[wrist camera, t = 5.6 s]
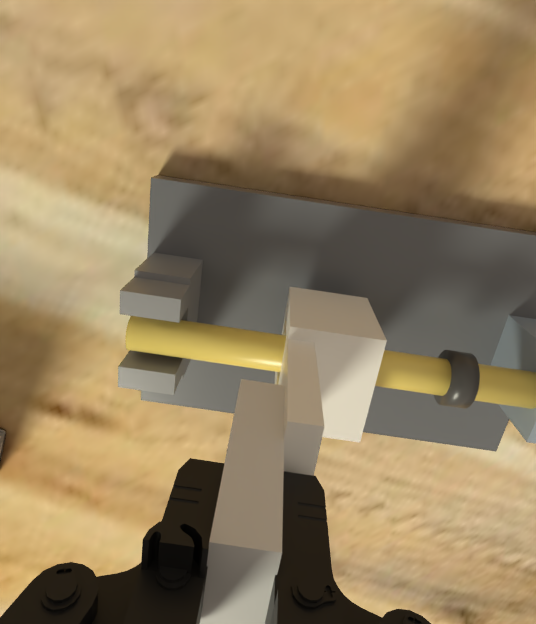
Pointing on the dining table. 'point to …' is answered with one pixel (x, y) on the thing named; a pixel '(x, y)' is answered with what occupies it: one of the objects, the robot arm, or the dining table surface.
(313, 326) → the white slider carriage
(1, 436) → the label tape cartridge
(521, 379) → the linear slide rail
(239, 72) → the dining table surface
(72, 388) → the dining table surface
